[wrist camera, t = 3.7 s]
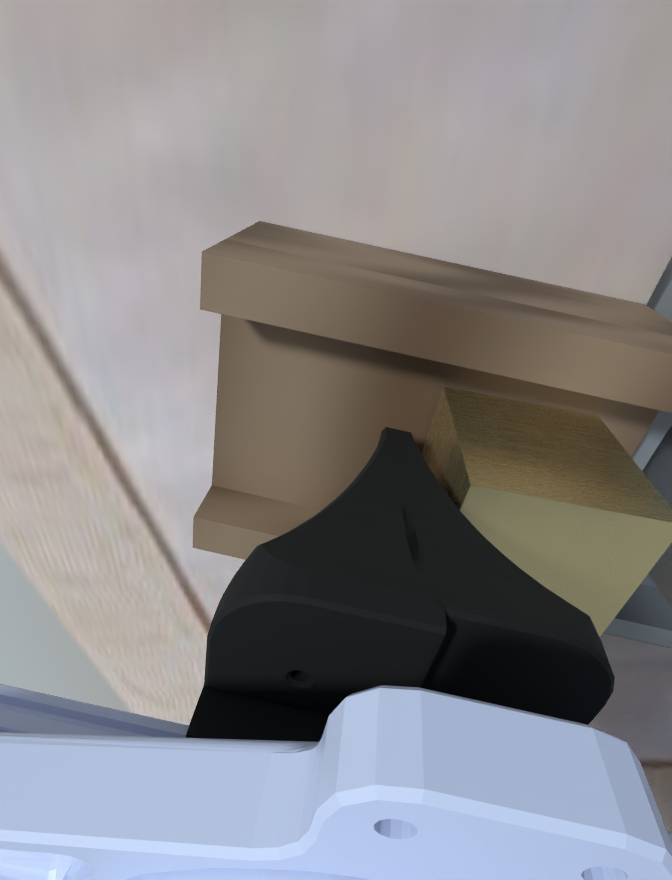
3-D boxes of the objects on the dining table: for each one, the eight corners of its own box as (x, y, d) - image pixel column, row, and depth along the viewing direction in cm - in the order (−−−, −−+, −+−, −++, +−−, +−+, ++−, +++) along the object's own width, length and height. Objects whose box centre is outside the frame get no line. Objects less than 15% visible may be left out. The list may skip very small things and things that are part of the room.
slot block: (646, 305, 14) (739, 368, 10) (529, 527, 18) (561, 631, 14) (259, 221, 14) (202, 252, 10) (238, 462, 18) (192, 547, 14)
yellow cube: (599, 416, 12) (684, 525, 9) (535, 533, 14) (585, 655, 11) (443, 386, 12) (471, 485, 9) (402, 508, 14) (411, 625, 11)
